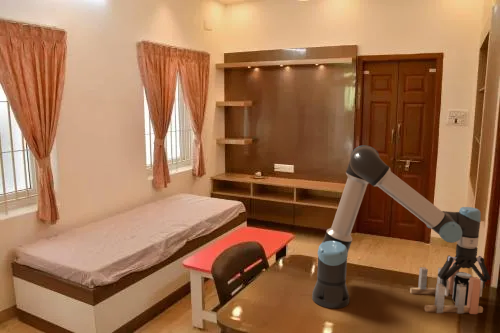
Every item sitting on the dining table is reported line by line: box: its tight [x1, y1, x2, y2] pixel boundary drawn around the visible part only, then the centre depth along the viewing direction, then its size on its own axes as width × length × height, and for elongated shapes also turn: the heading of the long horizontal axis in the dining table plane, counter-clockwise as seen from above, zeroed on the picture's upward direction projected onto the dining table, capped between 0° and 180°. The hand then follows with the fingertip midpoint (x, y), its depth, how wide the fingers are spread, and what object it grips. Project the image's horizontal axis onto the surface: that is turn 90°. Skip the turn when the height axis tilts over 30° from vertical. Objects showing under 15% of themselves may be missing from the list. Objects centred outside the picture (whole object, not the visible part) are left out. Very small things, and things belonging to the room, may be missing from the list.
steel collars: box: [417, 266, 466, 314], centre depth 161 cm, size 10×18×11 cm, turn 179°
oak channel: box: [409, 287, 484, 314], centre depth 161 cm, size 22×16×2 cm
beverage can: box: [452, 271, 473, 306], centre depth 160 cm, size 7×7×12 cm
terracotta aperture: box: [448, 261, 481, 315], centre depth 160 cm, size 3×19×14 cm, turn 179°
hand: (462, 294), depth 161 cm, fingers open, 13 cm apart
